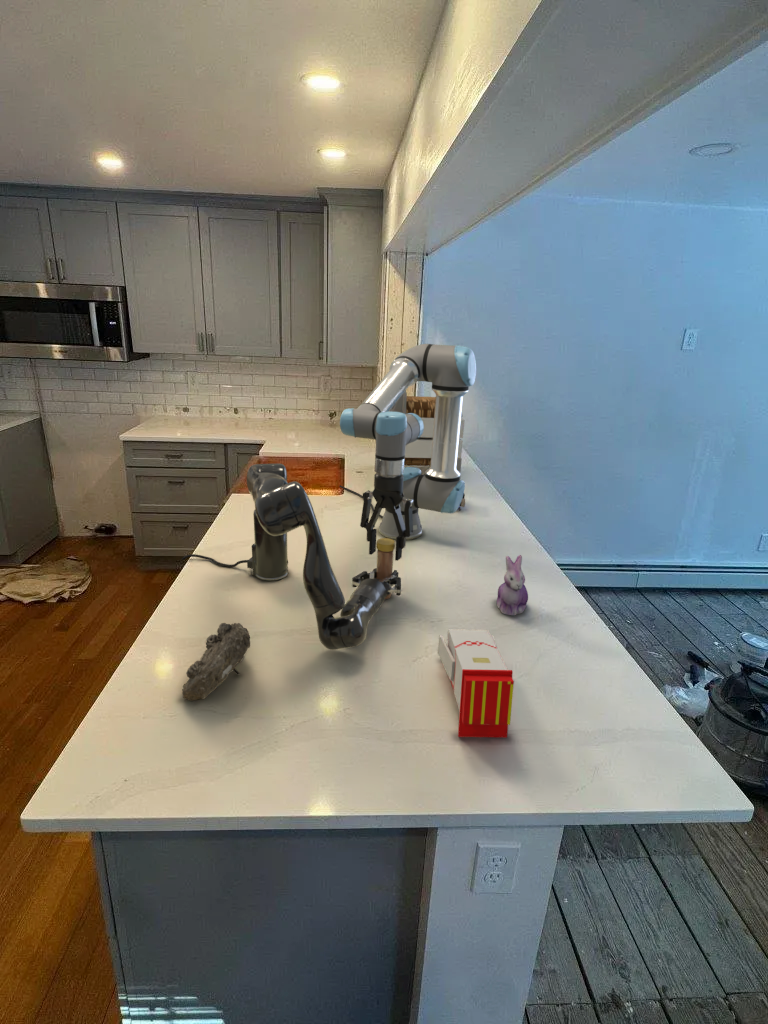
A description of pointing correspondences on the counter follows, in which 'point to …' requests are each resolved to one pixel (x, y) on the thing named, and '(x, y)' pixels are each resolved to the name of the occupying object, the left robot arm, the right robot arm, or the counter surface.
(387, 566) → the jar
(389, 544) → the lid
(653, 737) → the counter surface
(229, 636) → the fossil
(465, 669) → the toy
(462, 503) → the figurine character
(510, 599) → the figurine
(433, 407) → the white storage crate
